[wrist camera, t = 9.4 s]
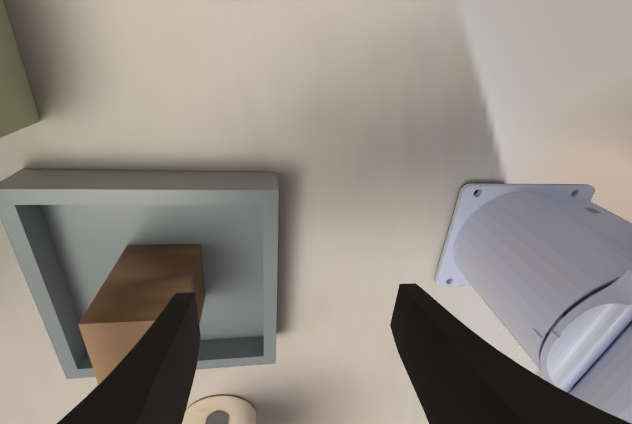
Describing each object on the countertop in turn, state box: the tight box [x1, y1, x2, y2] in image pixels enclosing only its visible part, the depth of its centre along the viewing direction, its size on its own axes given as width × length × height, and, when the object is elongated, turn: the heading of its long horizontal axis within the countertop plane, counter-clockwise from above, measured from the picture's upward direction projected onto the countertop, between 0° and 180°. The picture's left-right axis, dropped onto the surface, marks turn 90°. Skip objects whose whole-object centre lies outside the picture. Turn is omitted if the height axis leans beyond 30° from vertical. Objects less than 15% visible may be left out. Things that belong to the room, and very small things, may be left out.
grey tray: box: [0, 169, 279, 379], centre depth 20 cm, size 13×13×2 cm
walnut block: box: [78, 244, 205, 384], centre depth 18 cm, size 4×4×6 cm
